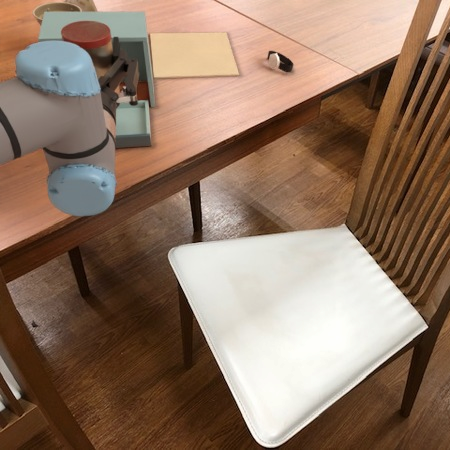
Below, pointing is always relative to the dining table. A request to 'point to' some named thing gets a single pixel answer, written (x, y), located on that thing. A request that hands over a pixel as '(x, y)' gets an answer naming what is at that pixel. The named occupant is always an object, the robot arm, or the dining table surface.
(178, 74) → the mat
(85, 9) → the mug
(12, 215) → the dining table surface
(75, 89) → the robot arm
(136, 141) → the drawer
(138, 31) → the cubby
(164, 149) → the dining table surface
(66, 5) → the flower pot
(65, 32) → the tea tin
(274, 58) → the watch
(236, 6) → the dining table surface
